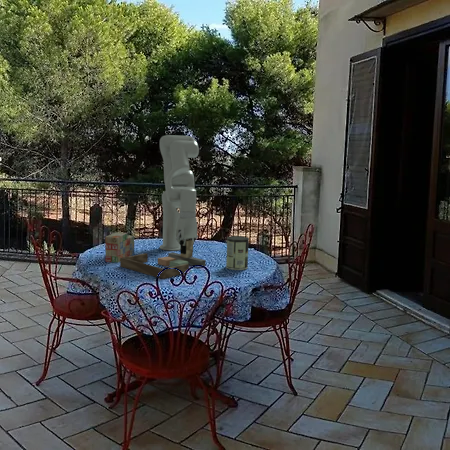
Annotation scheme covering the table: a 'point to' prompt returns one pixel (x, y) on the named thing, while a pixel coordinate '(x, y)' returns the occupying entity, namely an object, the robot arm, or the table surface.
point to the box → (149, 266)
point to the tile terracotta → (165, 261)
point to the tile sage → (177, 263)
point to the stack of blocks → (118, 246)
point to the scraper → (188, 255)
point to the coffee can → (237, 252)
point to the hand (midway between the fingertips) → (186, 252)
